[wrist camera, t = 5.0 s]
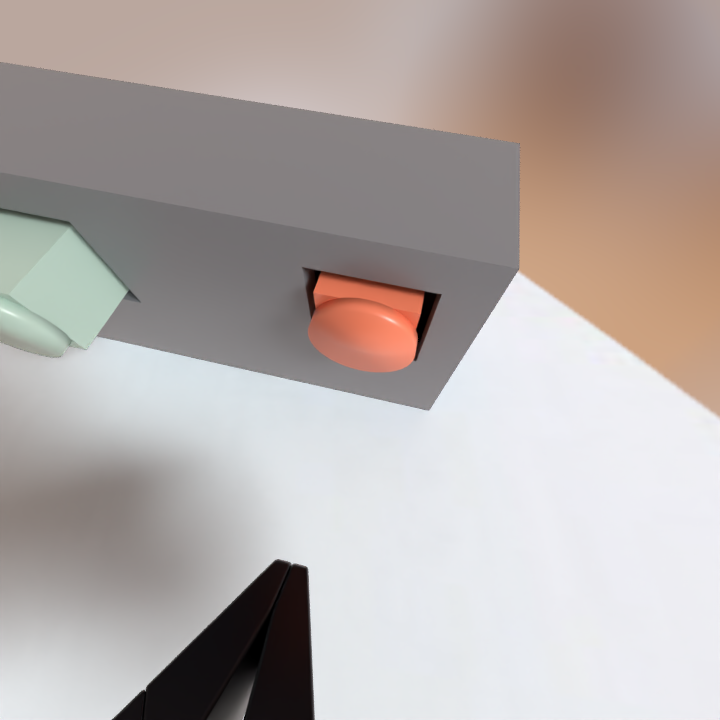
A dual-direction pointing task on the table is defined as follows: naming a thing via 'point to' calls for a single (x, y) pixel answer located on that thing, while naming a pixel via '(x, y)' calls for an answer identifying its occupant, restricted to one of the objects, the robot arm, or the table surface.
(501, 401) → the table surface
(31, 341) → the button green
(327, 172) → the control box
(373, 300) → the button red
